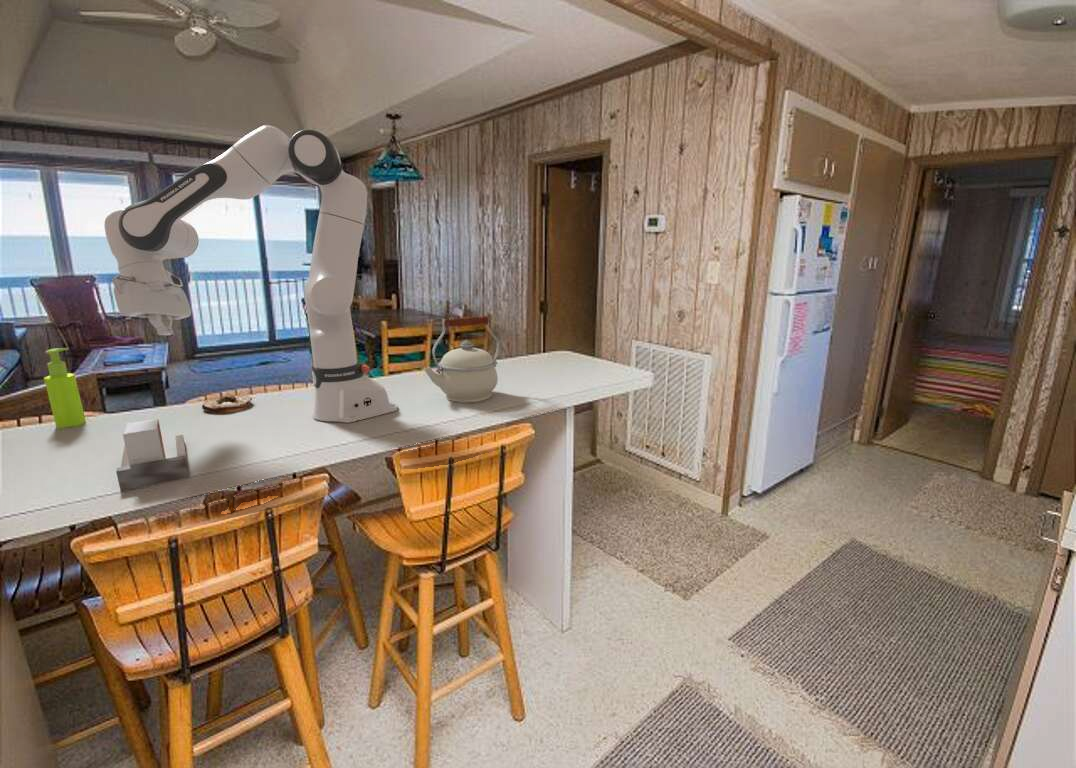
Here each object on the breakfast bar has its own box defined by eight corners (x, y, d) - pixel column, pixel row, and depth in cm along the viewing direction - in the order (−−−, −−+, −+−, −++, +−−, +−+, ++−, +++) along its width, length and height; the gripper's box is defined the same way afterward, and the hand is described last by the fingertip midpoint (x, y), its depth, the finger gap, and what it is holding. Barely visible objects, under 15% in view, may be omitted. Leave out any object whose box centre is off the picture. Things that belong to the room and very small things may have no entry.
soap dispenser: (93, 418, 140) (76, 346, 135) (76, 427, 133) (57, 351, 128) (69, 420, 139) (51, 346, 134) (50, 428, 132) (30, 352, 127)
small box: (167, 477, 105) (158, 428, 102) (133, 484, 102) (122, 434, 99) (167, 464, 111) (158, 417, 108) (135, 470, 108) (125, 422, 105)
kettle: (486, 385, 175) (484, 311, 168) (513, 398, 160) (512, 318, 153) (415, 396, 162) (410, 316, 155) (437, 411, 147) (432, 324, 140)
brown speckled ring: (187, 412, 147) (184, 398, 146) (238, 398, 160) (235, 385, 159) (217, 420, 140) (214, 405, 139) (268, 405, 153) (266, 392, 152)
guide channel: (184, 442, 123) (181, 426, 122) (189, 476, 105) (185, 458, 104) (126, 452, 117) (122, 436, 116) (120, 490, 99) (116, 471, 98)
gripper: (124, 269, 114) (147, 329, 115) (185, 280, 134) (204, 331, 135) (97, 278, 114) (120, 338, 115) (162, 288, 134) (181, 338, 135)
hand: (166, 334), depth 125 cm, fingers closed
